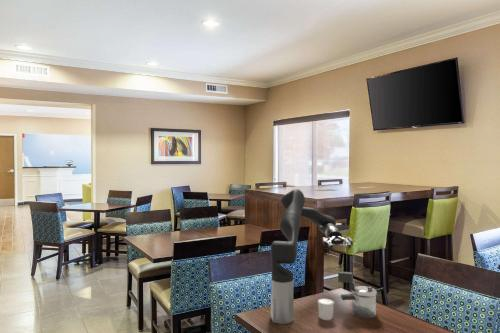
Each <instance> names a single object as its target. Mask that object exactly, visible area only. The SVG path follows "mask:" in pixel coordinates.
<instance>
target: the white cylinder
mask: <svg viewBox="0 0 500 333" xmlns="http://www.w3.org/2000/svg"><path fill="white" fill-rule="evenodd" d="M317 307H318V318H319V319H321V320H323V321H331V320H333V318H334V317H333V316H334V307H335V301H334V300H333V299H330V298H319V299H318V300H317Z"/></svg>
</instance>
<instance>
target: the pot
mask: <svg viewBox="0 0 500 333" xmlns="http://www.w3.org/2000/svg"><path fill="white" fill-rule="evenodd" d="M340 298H341V299H342V301H351V302H352V304H351V306H352V307H351V312H352V314H353V315H354V316H356V317H359V318H363V319H372V318H374V317H376V316H377V295H376V296H373V297H362V296H357V295H355V294H353V293H352V292H351V293H345V294H341V295H340Z"/></svg>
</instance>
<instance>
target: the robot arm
mask: <svg viewBox="0 0 500 333" xmlns="http://www.w3.org/2000/svg"><path fill="white" fill-rule="evenodd" d="M305 200H306V199H305V196H304V193H303V191H301V190H300V189H297V188H294V189H292V190H290V191H289V192H288V193H286V194H285V195H283V196H282V197H281V200H280V201H281V204H282V206H283V207H284V209H285V211H284V212H283V213H282V215H281V219H280V224H279V229H280V231H281V233H282V234H283V236H284V237H285V238H286V239H287V240H286V241H284V240H283V241H282V240H273V241H272V242H271V245H270V266H271V268H270V269H271V295H270V319H271V321H272V323H273V324H281V325H285V324H286V325H287V324H290V323H291V324H292V323H293V321H294V273H293V271H291V270H289V269H287V268H286V267H283V265H290V264H291V265H293V264H295V262H296V260H297V257H298V256H297V254H298V241H299V240H298V238H299V232H300V228H301V227H300V226H301V219H302V218H305V219H306V220H309V222H311V223H313V224H314V225H316V226H318V230H319V231H320V233H322V234H324V235H325V237H324V236H323V237H322V244H323V246H324V247H328V248H329V249H330V250H333V246H337V245H341V246H346V247H347V248H348V250H350V249H351V248H352V247H353V246H354V245H353V244H354V243H353V242H354V241H353V239H352V238H351V237H350V236H346V238H345V237H343V234H342V232H341V231H340V230H339V228H337V227H336V225H337V220H336V219H335V218H334V217H333V216H331V215H328V214H325V213H322V212H320V210H318V209H316V208H313V207H308V206H306V207H305ZM281 264H283V265H281Z"/></svg>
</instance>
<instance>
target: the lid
mask: <svg viewBox="0 0 500 333" xmlns="http://www.w3.org/2000/svg"><path fill="white" fill-rule="evenodd" d="M337 275H338V276H337V282H339V283H346V284H347V283H349V290H350V291H351V294H352V293H353V294H355V295H357V296H362V297H373V296H376V297H377V294H378V291H377V289H375V288H373V286H365V285H356V283H355V281H354V280H353V272H350V271H338V272H337Z"/></svg>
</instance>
